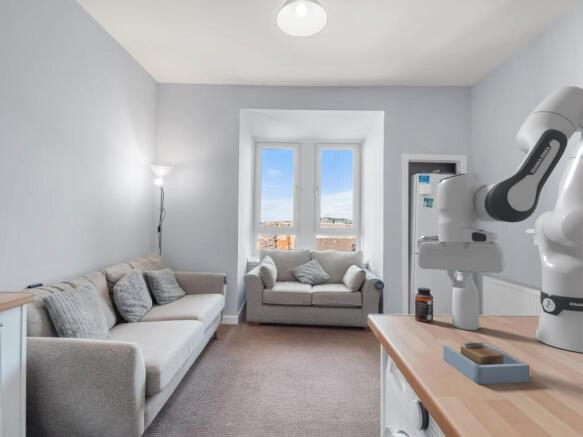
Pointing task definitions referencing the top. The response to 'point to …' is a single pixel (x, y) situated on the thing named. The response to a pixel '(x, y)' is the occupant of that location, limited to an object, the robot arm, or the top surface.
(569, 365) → the top surface
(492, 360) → the wooden toy wagon
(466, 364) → the bay
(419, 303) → the supplement bottle
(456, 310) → the milk bottle
